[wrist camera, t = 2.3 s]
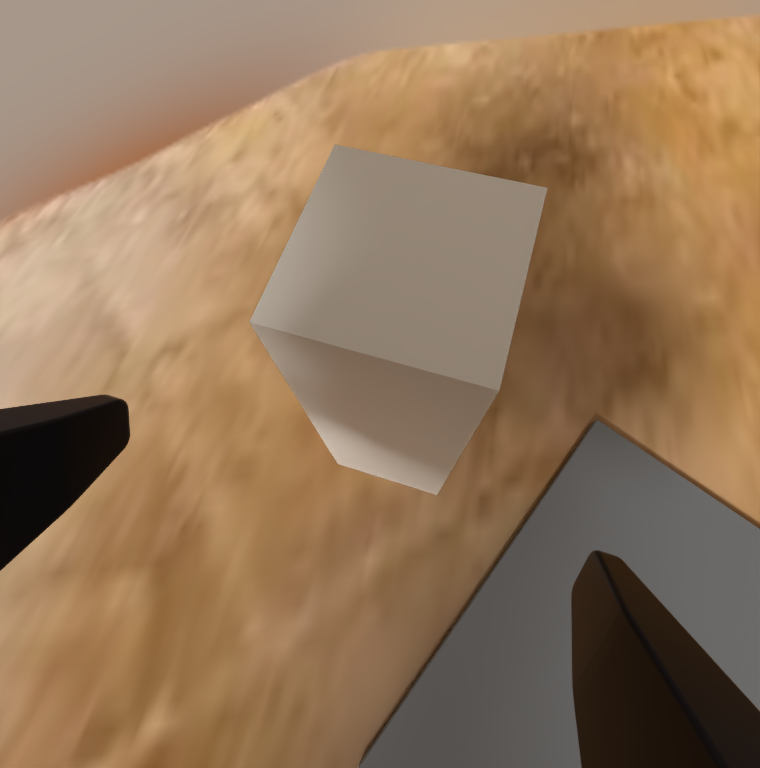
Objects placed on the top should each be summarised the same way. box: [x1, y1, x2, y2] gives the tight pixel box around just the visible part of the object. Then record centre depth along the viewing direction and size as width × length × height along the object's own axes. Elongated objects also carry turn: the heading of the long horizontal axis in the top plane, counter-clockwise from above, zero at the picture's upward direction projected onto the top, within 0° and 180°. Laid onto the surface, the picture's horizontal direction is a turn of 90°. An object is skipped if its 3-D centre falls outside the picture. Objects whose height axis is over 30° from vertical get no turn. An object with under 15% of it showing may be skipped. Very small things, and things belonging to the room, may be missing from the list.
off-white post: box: [250, 145, 547, 495], centre depth 14 cm, size 4×4×12 cm
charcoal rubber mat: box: [359, 420, 760, 768], centre depth 15 cm, size 16×16×1 cm
